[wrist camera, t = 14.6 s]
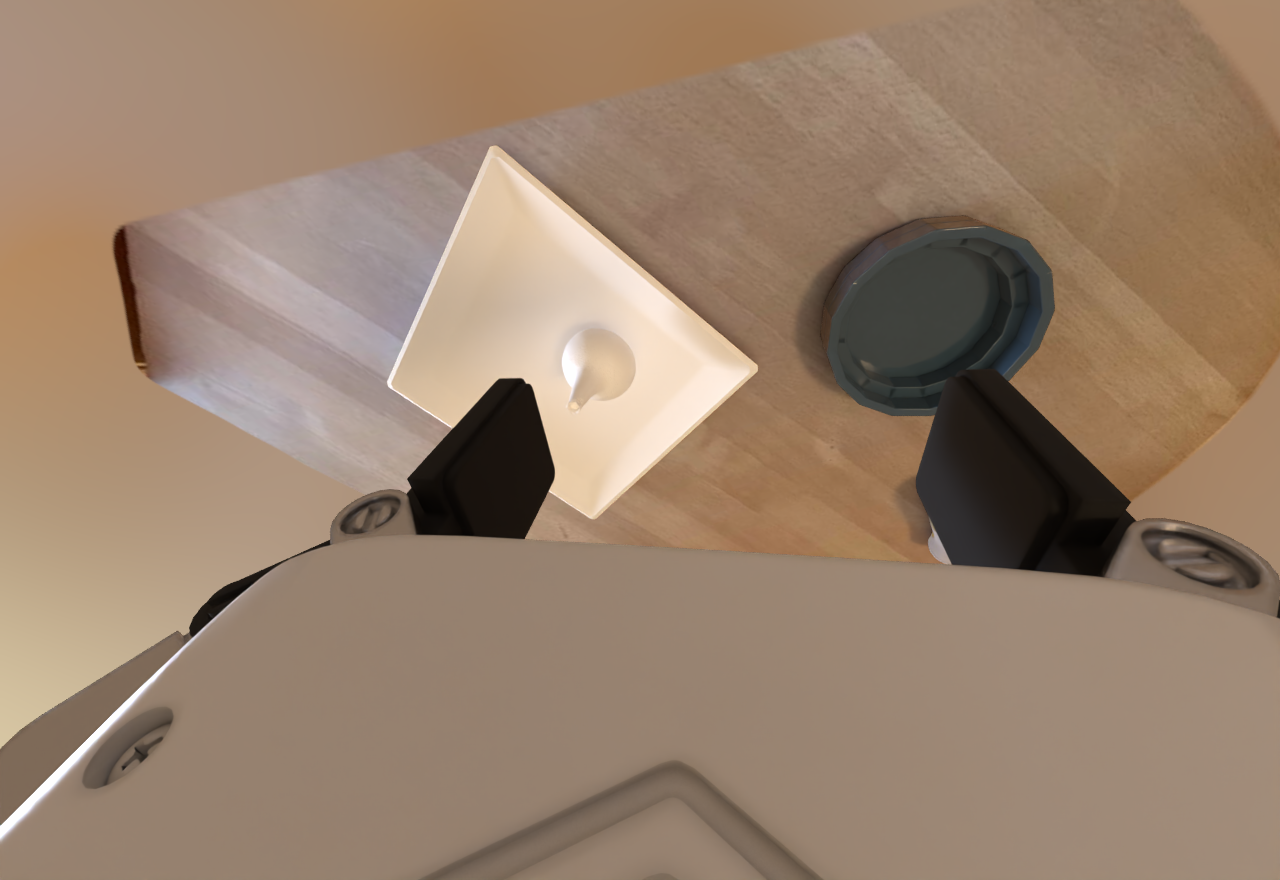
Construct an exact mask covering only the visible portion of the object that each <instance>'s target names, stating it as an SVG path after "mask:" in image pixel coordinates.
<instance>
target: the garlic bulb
mask: <svg viewBox="0 0 1280 880" xmlns="http://www.w3.org/2000/svg"><path fill="white" fill-rule="evenodd" d="M562 367H563V372H564V375H565V378H566V380H567V382H568V383H569V385H570V386H571V387H572V388H573V389H572V392H571V395H570V399H569V402H568V403H567V405H566V408H567V410H568V412H570V413H572V414H573V413H574V415H577V414H579V413H580V412H581V409H582V407H583V406H584V405H585V404H586V403H587V402H588V400H589V399H591V400H596V401H607V400H612V399H615V398H617V397H619V396H620V395H622V394H623V393H624V392H626V391H627V390H628V388H629V387H630V386H631V384H632V382H633V380H634V377H635V373H636V361H635V357H634V354H633V352H632V350H631V348H630V347H629V345H628V344H627V343H626V342H625V341H624V340H623V339H622V338H621V337H620V336H618V335H617V334H615V333H613V332H611V331H608V330H605V329H600V328H592V329H587V330H584V331H581V332H579V333H578V334H576V335H575V336H574V337H573V338H572V339H571V340H570V341H569V342H568V344H567V345H566V347H565V350H564V353H563V357H562ZM575 413H576V414H575Z"/></svg>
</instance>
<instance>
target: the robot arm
mask: <svg viewBox="0 0 1280 880" xmlns="http://www.w3.org/2000/svg"><path fill="white" fill-rule="evenodd" d="M554 478H555V467H554V463H553V460H552V456H551V452H550V449H549V445H548V441H547V438H546V434H545V431H544V427H543V423H542V420H541V416H540V412H539V409H538V405H537V401H536V398H535V394H534V390H533V388H532V386H531V385H530V384H526V382H525V381H524V379H522V378H499V379H498V380H497V381H496V382H495V383H494V384H493V385H492V386H491V387H490V388H489V389H488V391H487V392H486V393H485V394H484V395H483V396H482V397H481V398H480V399H479V400H478V402H477V403H476V404H475V405H474V406H473V407H472V408H471V409H470V410H469V411H468V413H467V414H466V415H465V416H464V417H463V418H462V419H461V420H460V421H459V422H458V423H457V425H456V426H455V427H454V428H453V429H452V430H451V431H450V432H449V433H448V434H447V436H446V437H445V438H444V439H443V440H442V441H441V442H440V443H439V444H438V445H437V447H436V448H435V449H434V450H433V451H432V452H431V453H430V454H429V455H428V456H427V458H426V459H425V460H424V461H423V462H422V463H421V464H420V465H419V466H418V467H417V469H416V470H415V471H414V472H413V473H412V474H411V475H410V476H409V477H408V478H407V480H408V482H409V483H410V485H411V487H412V488H411V489H410V490H409V492H408V493H407V494H406V493H404V492H402V491H400V490H394V489H388V490H380V491H377V492H373V493H370V494H367V495H365V496H363V497H361V498H359V499H357V500H355V501H354V502H352V503H351V504H349V505H347V506H346V507H345V508H344V509H343V510H342V511H341V512H339V513H338V515H337V516H336V517H335V519H334V520H333V522H332V525H331V530H330V540H328V541H326V542H324V543H322V544H319V545H317V546H315V547H313V548H310V549H308V550H306V551H304V552H301V553H299V554H297V555H295V556H292V557H290V558H288V559H286V560H284V561H281V562H279V563H277V564H275V565H273V566H270V567H268V568H266V569H264V570H261V571H259V572H257V573H255V574H252V575H250V576H248V577H245V578H243V579H241V580H239V581H236V582H233V583H231V584H228V585H227V586H225V587H223V588H222V589H220V590H219V591H217V592H216V593H215V594H214V595H213V596H212V597H211V598H210V599H209V600H208V601H207V603H205V604H204V605H203V606H202V607H201V608H200V610H199V611H198V613H197V614H196V615H195V616H194V617H193V620H192V622H191V625H190V627H189V629H190V632H189V633H188V634H186V635H184V636H183V635H182V634H181V633H180V632H179V631H176V632H175V633H173V634H171V635H170V636H168V637H166V638H165V639H163V640H162V641H160V642H159V643H157V644H155V645H154V646H152V647H150V648H149V649H147V650H145V651H144V652H142V653H141V654H139V655H138V656H136V657H134V658H133V659H131V660H129V661H128V662H126V663H125V664H123V665H121V666H120V667H118V668H117V669H115V670H113V671H112V672H110V673H108V674H107V675H105V676H104V677H102V678H100V679H99V680H97V681H96V682H94V683H92V684H91V685H89V686H88V687H86V688H84V689H83V690H81V691H79V692H78V693H76V694H75V695H73V696H71V697H70V698H68V699H66V700H65V701H63V702H62V703H60V704H58V705H57V706H55V707H54V708H52V709H50V710H49V711H47V712H45V713H44V714H42V715H41V716H39V717H38V718H37V719H35V720H34V721H32V722H31V723H30V724H28V725H27V726H25V727H24V728H22V729H21V730H20V731H19V732H18V733H17V734H15V735H14V736H13V737H12V738H11V739H10V740H9V741H8V742H7V743H6V744H5V745H4V746H3V747H2V748H1V749H0V880H1280V600H1279V598H1280V580H1279V576H1278V574H1277V573H1276V571H1275V570H1274V569H1273V568H1272V567H1271V565H1270V564H1269V563H1268V562H1267V561H1266V560H1265V559H1263V558H1262V557H1261V556H1259V555H1258V554H1257V553H1255V552H1254V551H1253V550H1251V549H1250V548H1248V547H1246V546H1244V545H1243V544H1241V543H1239V542H1237V541H1235V540H1234V539H1232V538H1230V537H1228V536H1225V535H1223V534H1221V533H1218V532H1215V531H1213V530H1211V529H1208V528H1205V527H1202V526H1198V525H1195V524H1191V523H1188V522H1184V521H1178V520H1171V519H1163V518H1152V519H1150V518H1149V519H1143V520H1140V521H1136V520H1135V519H1134V518H1133V517H1132V516H1131V515H1130V514H1129V513H1128V512H1127V511H1126V509H1127V507H1128V506H1129V504H1130V503H1131V502H1130V501H1129V500H1128V499H1127V498H1126V497H1125V496H1124V495H1123V494H1122V493H1121V492H1120V491H1119V490H1118V489H1117V488H1116V487H1115V486H1114V485H1113V484H1112V483H1111V482H1110V481H1109V480H1108V479H1107V478H1106V477H1105V476H1104V475H1103V474H1102V473H1101V472H1100V471H1099V470H1098V469H1097V468H1096V467H1095V466H1094V465H1093V464H1092V463H1091V462H1090V461H1089V460H1088V459H1087V458H1086V457H1085V456H1084V455H1083V454H1081V453H1080V452H1079V451H1078V450H1077V449H1076V448H1075V447H1074V446H1073V445H1072V444H1071V443H1070V442H1069V441H1068V440H1067V439H1066V438H1065V437H1064V436H1063V435H1062V434H1061V433H1060V432H1059V431H1058V430H1057V429H1056V428H1055V427H1054V426H1053V425H1052V424H1051V423H1050V422H1049V421H1048V420H1047V419H1046V418H1045V417H1044V416H1043V415H1042V414H1041V413H1040V412H1039V411H1038V410H1037V409H1036V408H1035V407H1034V406H1033V405H1032V404H1031V403H1030V402H1029V401H1028V400H1026V399H1025V398H1024V397H1023V396H1022V395H1021V394H1020V393H1019V392H1018V391H1017V390H1016V389H1015V388H1014V387H1013V386H1012V385H1011V384H1010V383H1009V382H1008V381H1007V380H1006V379H1005V378H1004V377H1003V376H1002V375H1001V374H1000V373H999V372H998V371H997V370H995V369H971V370H960V371H959V372H958V373H957V374H956V376H955V377H949V378H948V379H947V380H946V382H945V385H944V388H943V391H942V394H941V398H940V401H939V404H938V408H937V411H936V414H935V417H934V421H933V424H932V427H931V430H930V434H929V437H928V440H927V443H926V447H925V450H924V453H923V457H922V460H921V463H920V466H919V470H918V473H917V477H916V489H917V493H918V495H919V497H920V499H921V501H922V503H923V505H924V507H925V510H926V512H927V514H928V516H929V518H930V520H931V522H932V524H933V526H934V528H935V531H936V533H937V535H938V537H939V539H940V541H941V543H942V545H943V547H944V549H945V551H946V554H947V556H948V558H949V560H950V562H951V564H952V565H946V564H931V563H915V562H900V561H884V560H868V559H853V558H837V557H820V556H804V555H787V554H770V553H754V552H737V551H721V550H704V549H687V548H670V547H652V546H635V545H618V544H601V543H585V542H567V541H548V540H530V539H525V537H526V535H527V533H528V531H529V529H530V527H531V525H532V523H533V521H534V519H535V517H536V515H537V513H538V511H539V509H540V507H541V505H542V503H543V501H544V499H545V497H546V495H547V493H548V491H549V489H550V487H551V485H552V483H553V481H554Z"/></svg>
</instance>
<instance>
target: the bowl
mask: <svg viewBox="0 0 1280 880" xmlns="http://www.w3.org/2000/svg"><path fill="white" fill-rule="evenodd" d="M1054 309H1055V304H1054V291H1053V278H1052V271H1051V269H1050V267H1049V266H1048V265H1047V264H1046V262H1045V261H1044V260H1043V258H1042V257H1041V256H1040V255H1039V253H1038V252H1037V251H1036V250H1035V248H1034V247H1033V246H1032V245H1031V243H1030V242H1029V241H1028V240H1026V239H1024V238H1022V237H1019V236H1017V235H1015V234H1013V233H1010V232H1008V231H1005V230H1003V229H1001V228H998V227H995V226H993V225H990V224H987V223H984V222H982V221H979V220H976V219H973V218H971V217H968V216H963V215H962V216H950V217H937V218H925V219H920V220H919V219H918V220H916V221H913V222H911V223H909V224H907V225H905V226H902V227H900V228H898V229H896V230H893V231H891V232H889V233H887V234H885V235H882V236H880V237H878V238H877V239H875V240H874V241H873V242H872V243H871V244H869V245H868V246H867V247H866V248H865V249H864V250H863V251H862V252H861V253H859V254H858V255H857V256H856V257H855V258H854V259H853V260H852V261H851V262H850V263H848V264H847V265H846V266H845V267H844V269H843V270H842V272H841V273H840V275H839V277H838V279H837V281H836V282H835V284H834V286H833V288H832V290H831V292H830V293H829V295H828V297H827V299H826V301H825V303H824V309H823V317H822V326H821V334H820V335H821V336H820V337H821V340H822V343H823V346H824V348H825V351H826V354H827V357H828V360H829V363H830V366H831V368H832V371H833V374H834V376H835V379H836V382H837V384H838V385H839V386H840V387H841V388H842V389H843V390H845V391H846V392H847V393H848V394H849V395H850V396H851V397H852V398H853V399H854V400H855V401H856V402H857V403H858V404H860V405H862V406H865V407H868V408H871V409H874V410H877V411H879V412H882V413H885V414H888V415H891V416H932V415H935V414H936V411H937V408H938V404H939V401H940V398H941V394H942V391H943V388H944V385H945V382H946V380H947V379H948V378H949V377H955V376H956V374H957V373H958V372H959V371H960V370H971V369H995V370H997V371H998V372H999V373H1000V374H1001V375H1002V376H1003V377H1004V378H1005V379H1006V380H1007V381H1009V380H1010V379H1011V378H1012V377H1013V376H1014V375H1015V374H1016V373H1017V372H1018V371H1019V369H1020V368H1021V367H1022V366H1023V365H1024V364H1025V363H1026V362H1027V361H1028V360H1029V359H1030V357H1031V356H1032V355H1033V354H1034V353H1035V352H1036V351H1037V350H1038V348H1039V347H1040V344H1041V342H1042V340H1043V337H1044V335H1045V332H1046V330H1047V328H1048V325H1049V323H1050V320H1051V318H1052V316H1053V313H1054V311H1055V310H1054Z"/></svg>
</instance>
